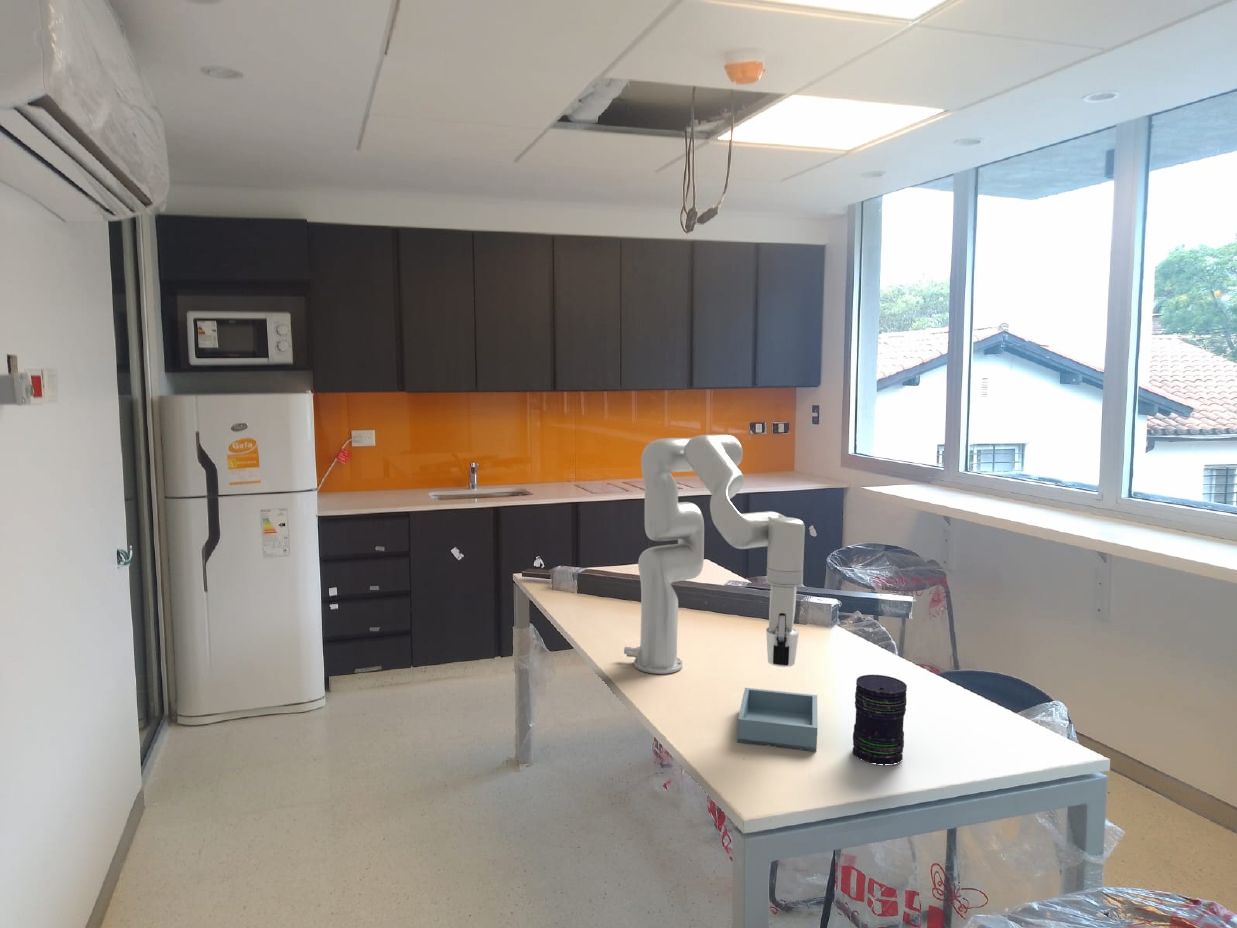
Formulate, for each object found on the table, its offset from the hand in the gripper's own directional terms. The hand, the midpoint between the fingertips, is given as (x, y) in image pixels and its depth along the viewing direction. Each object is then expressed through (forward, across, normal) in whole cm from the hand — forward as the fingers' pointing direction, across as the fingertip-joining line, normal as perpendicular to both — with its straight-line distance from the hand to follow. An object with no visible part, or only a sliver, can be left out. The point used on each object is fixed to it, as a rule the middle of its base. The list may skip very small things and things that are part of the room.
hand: (781, 658), depth 177 cm
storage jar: (+16, +7, +20) cm, 26 cm away
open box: (+16, 0, 0) cm, 16 cm away
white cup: (+1, 0, 0) cm, 1 cm away
